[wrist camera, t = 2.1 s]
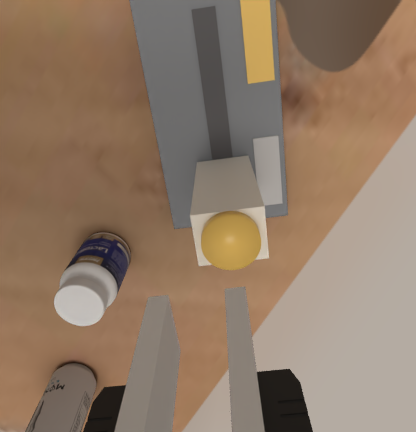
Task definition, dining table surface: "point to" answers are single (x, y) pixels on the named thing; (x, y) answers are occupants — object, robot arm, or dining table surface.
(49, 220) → the dining table surface
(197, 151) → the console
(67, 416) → the energy drink can
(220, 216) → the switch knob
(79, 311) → the pill bottle
